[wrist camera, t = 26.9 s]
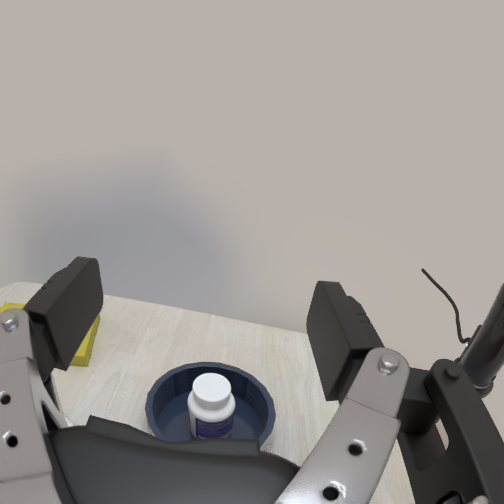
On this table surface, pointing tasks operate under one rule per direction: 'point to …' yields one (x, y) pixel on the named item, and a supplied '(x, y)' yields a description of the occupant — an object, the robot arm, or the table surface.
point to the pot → (176, 403)
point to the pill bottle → (211, 407)
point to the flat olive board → (85, 347)
